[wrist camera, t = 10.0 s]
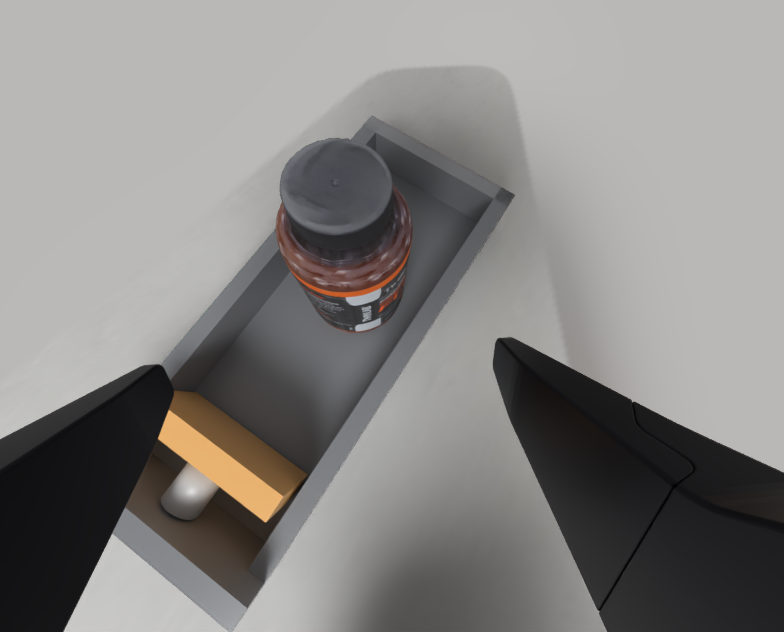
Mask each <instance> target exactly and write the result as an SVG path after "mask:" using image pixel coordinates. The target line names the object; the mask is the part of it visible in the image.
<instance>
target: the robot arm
mask: <svg viewBox="0 0 784 632" xmlns="http://www.w3.org/2000/svg"><path fill="white" fill-rule="evenodd" d="M493 370H494V373H495V376H496V379H497V382H498V386H499V389H500V392H501V395H502V398H503V401H504V404H505V407H506V410H507V413H508V416H509V418H510V421H511V423H512V426H513V428H514V430H515V432H516V434H517V436H518V439H519V441H520V443H521V445H522V447H523V449H524V452H525V454H526V456H527V458H528V460H529V462H530V465H531V467H532V469H533V471H534V473H535V475H536V478H537V480H538V482H539V484H540V486H541V488H542V491H543V493H544V495H545V497H546V499H547V501H548V504H549V506H550V508H551V510H552V512H553V514H554V517H555V519H556V521H557V523H558V525H559V527H560V530H561V532H562V534H563V536H564V538H565V540H566V543H567V545H568V547H569V549H570V551H571V553H572V556H573V558H574V560H575V562H576V564H577V566H578V569H579V571H580V573H581V575H582V577H583V579H584V582H585V584H586V586H587V588H588V590H589V593H590V595H591V597H592V599H593V601H594V603H595V606H596V608H597V610H598V611H600V612H599V615H600V617H601V619H602V621H603V623H604V626H605V628H606V630H607V632H784V473H783V472H781V471H779V470H777V469H775V468H772V467H770V466H768V465H766V464H764V463H762V462H759V461H757V460H755V459H753V458H751V457H749V456H746V455H744V454H742V453H740V452H738V451H735V450H733V449H731V448H729V447H727V446H724V445H722V444H720V443H718V442H716V441H714V440H711V439H709V438H707V437H705V436H703V435H701V434H699V433H696V432H694V431H692V430H690V429H688V428H686V427H684V426H681V425H679V424H677V423H675V422H673V421H671V420H669V419H667V418H665V417H663V416H661V415H659V414H658V413H656V412H654V411H651V410H650V409H648V408H646V407H644V406H642V405H640V404H638V403H636V402H633V403H632V400H631V399H628V398H627V397H625V396H623V395H621V394H619V393H617V392H615V391H613V390H612V389H610V388H608V387H605V386H604V385H602V384H600V383H598V382H596V381H594V380H592V379H591V378H589V377H587V376H585V375H583V374H581V373H579V372H577V371H575V370H573V369H572V368H570V367H568V366H566V365H564V364H562V363H560V362H558V361H556V360H554V359H553V358H551V357H549V356H547V355H545V354H543V353H541V352H539V351H537V350H535V349H533V348H532V347H530V346H528V345H526V344H524V343H522V342H520V341H518V340H516V339H514V338H512V337H507V338H498V339H497V340H496V343H495V350H494V358H493ZM173 397H174V388H173V385H172V383H171V381H170V379H169V377H168V375H167V373H166V371H165V369H164V367H163V366H162V365H159V364H154V365H144V366H141V367H139V368H137V369H135V370H133V371H131V372H129V373H127V374H125V375H123V376H122V377H120V378H118V379H116V380H114V381H112V382H110V383H108V384H106V385H104V386H102V387H100V388H98V389H96V390H94V391H93V392H91V393H89V394H87V395H85V396H83V397H81V398H79V399H77V400H75V401H73V402H71V403H69V404H67V405H66V406H64V407H62V408H60V409H58V410H56V411H54V412H52V413H50V414H48V415H46V416H44V417H42V418H40V419H38V420H37V421H35V422H33V423H31V424H29V425H27V426H25V427H23V428H21V429H19V430H17V431H15V432H13V433H11V434H10V435H8V436H6V437H4V438H2V439H0V632H64V630H65V628H66V626H67V623H68V621H69V619H70V617H71V615H72V613H73V611H74V609H75V607H76V605H77V603H78V601H79V599H80V597H81V595H82V593H83V591H84V589H85V587H86V585H87V583H88V581H89V579H90V577H91V575H92V573H93V571H94V569H95V567H96V565H97V563H98V561H99V559H100V557H101V555H102V553H103V551H104V549H105V547H106V545H107V543H108V541H109V539H110V537H111V535H112V533H113V531H114V529H115V527H116V525H117V523H118V521H119V519H120V517H121V515H122V513H123V511H124V509H125V507H126V505H127V503H128V501H129V499H130V497H131V495H132V493H133V491H134V489H135V487H136V485H137V483H138V480H139V478H140V476H141V474H142V472H143V470H144V468H145V466H146V464H147V462H148V460H149V458H150V456H151V454H152V452H153V450H154V447H155V445H156V442H157V440H158V437H159V435H160V432H161V429H162V427H163V424H164V421H165V419H166V416H167V413H168V411H169V408H170V405H171V402H172V400H173Z"/></svg>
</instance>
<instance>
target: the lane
mask: <svg viewBox="0 0 784 632" xmlns="http://www.w3.org/2000/svg"><path fill="white" fill-rule="evenodd" d="M351 140H354V141H357V142H359V143H362V144H365V145H367V146H369V147H371V148H372V149H373V150H374V151H376V152H377V153H378V154H379V155H380V156H381V157H382V158H383V159H384V161H385V163H386V164H387V166H388V168H389V170H390V173H391V177H392V182H393V185H394V186H395V187H396V188H397V189H398V190H399V192H400V193H401V194H402V196H403V197H404V199H405V201H406V203H407V204H408V207H409V210H410V213H411V218H412V227H413V231H412V242H411V247H410V255H409V260H408V265H407V270H406V275H405V283H404V287H403V293H402V298H401V301H400V303H399V306H398V307H397V309H396V311H395V313H394V314H393V316H392V317H391V318H390V319H389V320H388V321H387V322H386V323H385V324H383V325H382V326H380V327H378V328H376V329H374V330H371V331H368V332H363V333H349V332H344V331H341V330H338V329H336V328H334V327H332V326H331V325H329V324H328V323H327V322H326V321H325V320H324V319H323V318H322V317H321V316H320V315H319V314H318V313H317V311H316V310H315V308H314V306H313V305H312V303H311V302H310V300H309V299H308V297H307V295H306V294H305V292H304V291H303V289H302V288H301V286H300V284H299V283H298V281H297V280H296V278H295V277H294V275H293V274H292V272H291V271H290V269H289V267H288V265H287V264H286V262H285V260H284V258H283V256H282V254H281V251H280V249H279V246H278V242H277V237H276V229H275V230H274V231H273V233H272V234H271V235H270V236H269V237H268V239H267V240H266V241H265V242H264V243H263V244H262V246H261V247H260V248H259V249H258V250H257V252H256V253H255V254H254V255H253V256H252V257H251V259H250V260H249V261H248V262H247V263H246V265H245V266H244V267H243V268H242V269H241V270H240V272H239V273H238V274H237V275H236V276H235V278H234V279H233V280H232V281H231V282H230V283H229V285H228V286H227V287H226V288H225V289H224V290H223V292H222V293H221V294H220V295H219V296H218V298H217V299H216V300H215V301H214V302H213V303H212V305H211V306H210V307H209V308H208V309H207V311H206V312H205V313H204V314H203V315H202V316H201V318H200V319H199V320H198V321H197V322H196V324H195V325H194V326H193V327H192V328H191V329H190V331H189V332H188V333H187V334H186V335H185V337H184V338H183V339H182V340H181V341H180V342H179V344H178V345H177V346H176V347H175V348H174V350H173V351H172V352H171V353H170V354H169V355H168V357H167V358H166V359H165V360H164V361H163V363H162V364H161V365H162V366H163V367H164V369H165V371H166V373H167V375H168V377H169V379H170V381H171V383H172V385H173V388H174V391H187V392H197V393H198V394H200V395H201V396H202V397H204V398H205V399H206V400H208V401H209V402H210V403H212V404H213V405H215V406H216V407H217V408H219V409H220V410H221V411H223V412H224V413H225V414H227V415H228V416H229V417H231V418H232V419H233V420H235V421H236V422H237V423H239V424H240V425H242V426H243V427H244V428H246V429H247V430H248V431H250V432H251V433H252V434H254V435H255V436H256V437H258V438H259V439H260V440H262V441H263V442H265V443H266V444H267V445H269V446H270V447H271V448H273V449H274V450H275V451H277V452H278V453H279V454H281V455H282V456H283V457H285V458H286V459H288V460H289V461H290V462H292V463H293V464H294V465H296V466H297V467H298V468H300V469H301V470H302V471H304V472H305V473H306V474H308V476H307V477H306V479H305V480H304V482H303V483H302V485H301V486H300V488H299V489H298V491H297V492H296V494H295V495H294V496H293V497H292V498H291V499H290V500H289V501H288V502H287V503H286V504H285V505H284V506H283V507H282V508H281V509H280V510H279V511H278V512H276V513H275V514H274V515H273V516H272V517H271V518H270V519H269V520H268V521H267V522H266V523H265V522H264V521H263V520H262V519H260V518H259V517H258V516H256V515H255V514H254V513H253V512H251V511H250V510H249V509H247V508H246V507H245V506H244V505H242V504H241V503H240V502H238V501H237V500H236V499H235V498H233V497H232V496H231V495H229V494H228V493H227V492H226V491H224V490H223V489H222V488H220V487H219V489H218V490H217V491H216V493H215V494H214V496H213V497H212V498H211V500H210V501H209V502H208V504H207V505H206V507H205V508H204V509H203V511H202V512H201V514H200V515H199V516H198V517H197V518H196V519H193V520H184V519H180V518H177V517H175V516H173V515H172V514H170V513H169V512H168V511H166V510H165V509H164V507H163V506H162V504H161V497H162V496H163V494H164V493H165V492H166V490H167V489H168V488H169V486H170V485H171V484H172V483H173V481H174V480H175V479H176V477H177V476H178V475H179V473H180V472H181V471H182V469H183V468H184V467H185V465H186V464H187V463H188V462H187V461H186V460H184V459H183V458H182V457H181V456H179V455H178V454H177V453H175V452H174V451H173V450H172V449H170V448H169V447H168V446H166V445H165V444H164V443H163V442H161V441H160V440H159V439H158V440H157V442H156V445H155V447H154V450H153V452H152V454H151V456H150V458H149V460H148V462H147V464H146V466H145V468H144V470H143V472H142V474H141V476H140V478H139V480H138V483H137V485H136V487H135V489H134V491H133V493H132V495H131V497H130V499H129V501H128V503H127V505H126V507H125V509H124V511H123V513H122V515H121V517H120V519H119V521H118V523H117V525H116V527H115V529H114V531H113V534H114V535H115V536H116V537H117V538H119V539H120V540H121V541H122V542H123V543H124V544H126V545H127V546H128V547H129V548H130V549H132V550H133V551H134V552H135V553H136V554H137V555H139V556H140V557H141V558H142V559H143V560H145V561H146V562H147V563H148V564H149V565H150V566H152V567H153V568H154V569H155V570H156V571H158V572H159V573H160V574H161V575H162V576H164V577H165V578H166V579H167V580H168V581H169V582H171V583H172V584H173V585H174V586H175V587H177V588H178V589H179V590H180V591H181V592H182V593H184V594H185V595H186V596H187V597H188V598H190V599H191V600H192V601H193V602H194V603H195V604H197V605H198V606H199V607H200V608H201V609H203V610H204V611H205V612H206V613H207V614H208V615H210V616H211V617H212V618H213V619H214V620H216V621H217V622H218V623H219V624H220V625H222V626H223V627H224V628H225V629H226V630H227V631H229V632H232V631H233V630H234V629H235V627H236V626H237V624H238V623H239V621H240V620H241V618H242V617H243V615H244V614H245V612H246V611H247V609H248V608H249V606H250V605H251V603H252V602H253V601H254V599H255V598H256V596H257V595H258V593H259V592H260V590H261V589H262V587H263V586H264V584H265V583H266V581H267V580H268V578H269V577H270V576H271V574H272V573H273V571H274V570H275V568H276V567H277V565H278V564H279V562H280V560H281V559H282V557H283V556H284V554H285V553H286V551H287V550H288V548H289V546H290V545H291V543H292V542H293V540H294V539H295V537H296V536H297V534H298V532H299V531H300V529H301V528H302V526H303V525H304V523H305V522H306V520H307V519H308V517H309V515H310V514H311V512H312V511H313V509H314V508H315V506H316V505H317V503H318V501H319V500H320V498H321V497H322V495H323V494H324V492H325V491H326V489H327V487H328V486H329V484H330V483H331V481H332V480H333V478H334V477H335V475H336V474H337V472H338V470H339V469H340V467H341V466H342V464H343V463H344V461H345V460H346V458H347V456H348V455H349V453H350V452H351V450H352V449H353V447H354V446H355V444H356V442H357V441H358V439H359V438H360V436H361V435H362V433H363V432H364V430H365V429H366V427H367V425H368V424H369V422H370V421H371V419H372V418H373V416H374V415H375V413H376V411H377V410H378V408H379V407H380V405H381V404H382V402H383V401H384V399H385V397H386V396H387V394H388V393H389V391H390V390H391V388H392V387H393V385H394V383H395V382H396V380H397V379H398V377H399V376H400V374H401V373H402V371H403V370H404V368H405V366H406V365H407V363H408V362H409V360H410V359H411V357H412V356H413V354H414V352H415V351H416V349H417V348H418V346H419V345H420V343H421V342H422V340H423V338H424V337H425V335H426V334H427V332H428V331H429V329H430V328H431V326H432V325H433V323H434V321H435V320H436V318H437V317H438V315H439V314H440V312H441V311H442V309H443V307H444V306H445V304H446V303H447V301H448V300H449V298H450V297H451V295H452V293H453V292H454V290H455V289H456V287H457V286H458V284H459V283H460V281H461V280H462V278H463V276H464V275H465V273H466V272H467V270H468V269H469V267H470V266H471V264H472V262H473V261H474V259H475V258H476V256H477V255H478V253H479V252H480V250H481V248H482V247H483V245H484V244H485V242H486V241H487V239H488V238H489V236H490V234H491V233H492V231H493V230H494V228H495V227H496V225H497V224H498V222H499V220H500V219H501V217H502V215H503V214H504V212H505V210H506V209H507V207H508V206H509V204H510V202H511V201H512V199H513V197H514V196H515V195H514V194H512V193H511V192H509V191H507V190H505V189H503V188H502V187H500V186H498V185H496V184H494V183H493V182H491V181H489V180H487V179H485V178H484V177H482V176H480V175H478V174H476V173H475V172H473V171H471V170H469V169H467V168H465V167H464V166H462V165H460V164H458V163H456V162H455V161H453V160H451V159H449V158H447V157H446V156H444V155H442V154H440V153H438V152H437V151H435V150H433V149H431V148H429V147H428V146H426V145H424V144H422V143H420V142H419V141H417V140H415V139H413V138H411V137H410V136H408V135H406V134H404V133H402V132H401V131H399V130H397V129H395V128H393V127H392V126H390V125H388V124H386V123H384V122H383V121H381V120H379V119H377V118H375V117H374V116H371V117H370V118H369V119H368V120H367V122H366V123H365V124H364V125H363V126H362V128H361V129H360V130H359V131H358V132H357V133H356V135H355V136H354V137H353V138H352V139H351Z"/></svg>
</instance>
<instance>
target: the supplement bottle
mask: <svg viewBox="0 0 784 632" xmlns="http://www.w3.org/2000/svg"><path fill="white" fill-rule="evenodd" d="M280 196H281V199H282V203H281V206H280V208H279V211H278V214H277V219H276V237H277V242H278V246H279V249H280V251H281V254H282V256H283V258H284V260H285V262H286V264H287V265H288V267H289V269H290V271H291V272H292V274H293V275H294V277H295V278H296V280H297V281H298V283H299V284H300V286H301V288H302V289H303V291H304V292H305V294H306V295H307V297H308V299H309V300H310V302H311V303H312V305H313V306H314V308H315V310H316V311H317V313H318V314H319V315H320V316H321V317H322V318H323V319H324V320H325V321H326V322H327V323H328V324H329V325H331V326H332V327H334V328H336V329H338V330H341V331H344V332H349V333H363V332H368V331H371V330H374V329H376V328H378V327H380V326H382V325H383V324H385V323H386V322H387V321H388V320H389V319H390V318H391V317H392V316H393V314H394V313H395V311H396V309H397V307H398V306H399V303H400V301H401V298H402V293H403V287H404V283H405V275H406V270H407V265H408V260H409V255H410V247H411V242H412V231H413V227H412V218H411V213H410V210H409V207H408V204H407V203H406V201H405V199H404V197H403V196H402V194H401V193H400V192H399V190H398V189H397V188H396V187H395V186H394V185H393V182H392V177H391V173H390V170H389V168H388V166H387V164H386V163H385V161H384V159H383V158H382V157H381V156H380V155H379V154H378V153H377V152H376V151H374V150H373V149H372V148H371V147H369V146H367V145H365V144H362V143H359V142H357V141H354V140H349V139H340V138H329V139H326V140H322V141H317V142H314V143H312V144H310V145H307V146H305V147H304V148H302V149H301V150H300V151H298V152H297V153H296V154H295V155H294V156H293V157H292V158H291V159H290V160H289V162H288V163H287V164H286V166H285V168H284V170H283V172H282V175H281V181H280Z"/></svg>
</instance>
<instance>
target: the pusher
mask: <svg viewBox="0 0 784 632" xmlns="http://www.w3.org/2000/svg"><path fill="white" fill-rule="evenodd" d="M158 439H159V440H160V441H161V442H163V443H164V444H165V445H166V446H168V447H169V448H170V449H172V450H173V451H174V452H175V453H177V454H178V455H179V456H181V457H182V458H183V459H184V460H186V461H187V462H188V463H187V464H186V465H185V467H184V468H183V469H182V471H181V472H180V473H179V475H178V476H177V477H176V479H175V480H174V481H173V483H172V484H171V485H170V486H169V488H168V489H167V490H166V492H165V493H164V494H163V496H162V497H161V504H162V506H163V507H164V509H165V510H166V511H168V512H169V513H170V514H172V515H173V516H175V517H177V518H180V519H184V520H193V519H196V518H197V517H198V516H199V515H200V514H201V512H202V511H203V509H204V508H205V507H206V505H207V504H208V502H209V501H210V500H211V498H212V497H213V496H214V494H215V493H216V491H217V490H218V489H219V487H220V488H222V489H223V490H224V491H226V492H227V493H228V494H229V495H231V496H232V497H233V498H235V499H236V500H237V501H238V502H240V503H241V504H242V505H244V506H245V507H246V508H247V509H249V510H250V511H251V512H253V513H254V514H255V515H256V516H258V517H259V518H260V519H262V520H263V521H264V522H265V523H266V522H267V521H268V520H269V519H270V518H271V517H272V516H273V515H274V514H275V513H276V512H278V511H279V510H280V509H281V508H282V507H283V506H284V505H285V504H286V503H287V502H288V501H289V500H290V499H291V498H292V497H293V496H294V495H295V494H296V492H297V491H298V489H299V488H300V486H301V485H302V483H303V482H304V480H305V479H306V477H307V476H308V474H306V473H305V472H304V471H302V470H301V469H300V468H298V467H297V466H296V465H294V464H293V463H292V462H290V461H289V460H288V459H286V458H285V457H283V456H282V455H281V454H279V453H278V452H277V451H275V450H274V449H273V448H271V447H270V446H269V445H267V444H266V443H265V442H263V441H262V440H260V439H259V438H258V437H256V436H255V435H254V434H252V433H251V432H250V431H248V430H247V429H246V428H244V427H243V426H242V425H240V424H239V423H237V422H236V421H235V420H233V419H232V418H231V417H229V416H228V415H227V414H225V413H224V412H223V411H221V410H220V409H219V408H217V407H216V406H215V405H213V404H212V403H210V402H209V401H208V400H206V399H205V398H204V397H202V396H201V395H200V394H198V393H197V392H187V391H174V397H173V400H172V402H171V405H170V408H169V411H168V413H167V416H166V419H165V421H164V424H163V427H162V429H161V432H160V435H159V437H158Z"/></svg>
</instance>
